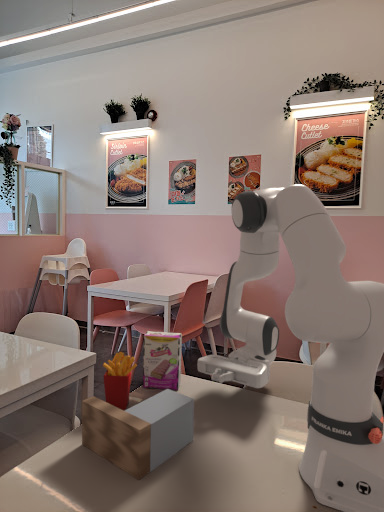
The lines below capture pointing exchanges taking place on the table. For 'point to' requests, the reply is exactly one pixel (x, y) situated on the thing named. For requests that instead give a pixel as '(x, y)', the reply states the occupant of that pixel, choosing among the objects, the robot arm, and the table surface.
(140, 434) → the walnut board
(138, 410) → the slate block
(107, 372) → the french fries
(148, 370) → the candy bar box
